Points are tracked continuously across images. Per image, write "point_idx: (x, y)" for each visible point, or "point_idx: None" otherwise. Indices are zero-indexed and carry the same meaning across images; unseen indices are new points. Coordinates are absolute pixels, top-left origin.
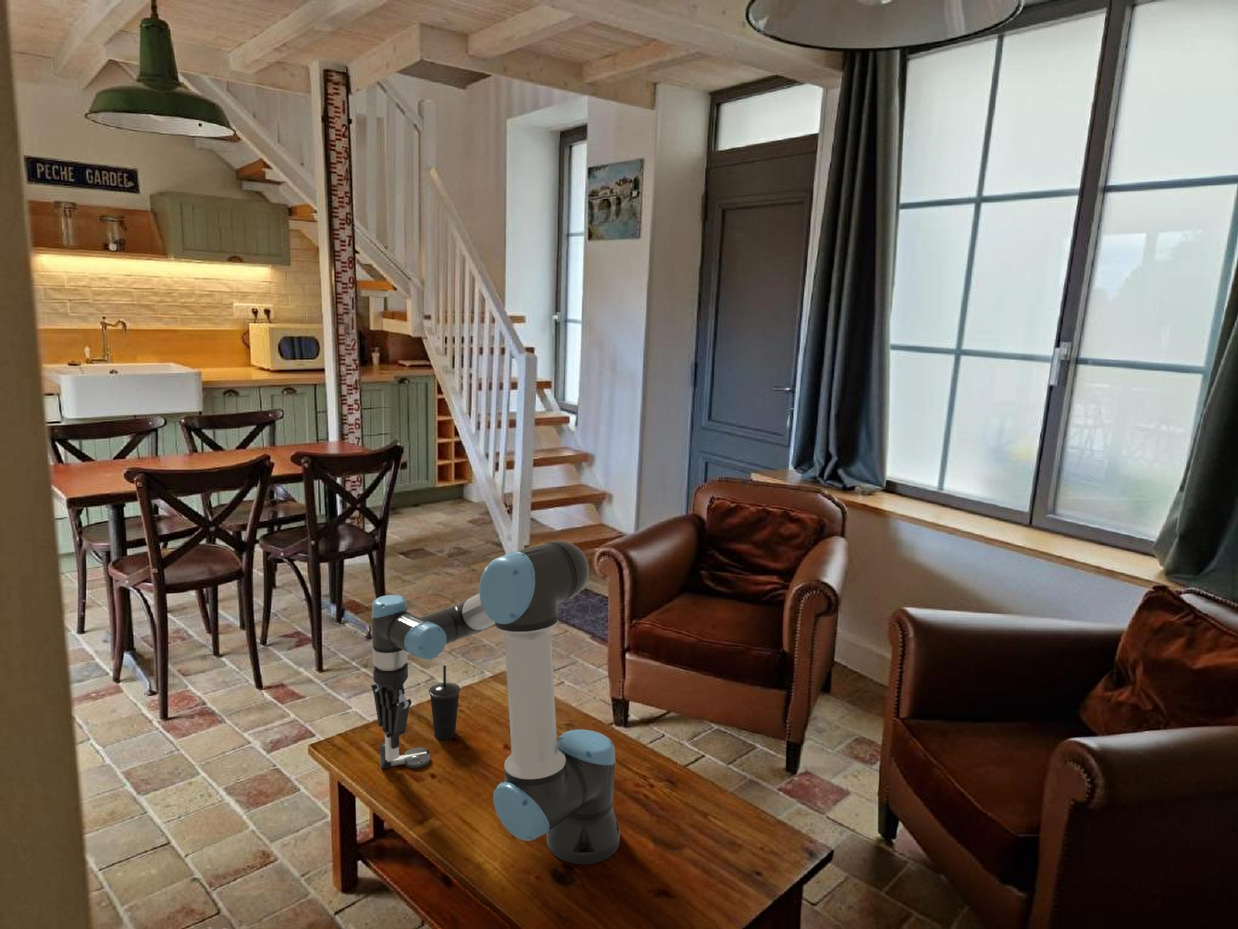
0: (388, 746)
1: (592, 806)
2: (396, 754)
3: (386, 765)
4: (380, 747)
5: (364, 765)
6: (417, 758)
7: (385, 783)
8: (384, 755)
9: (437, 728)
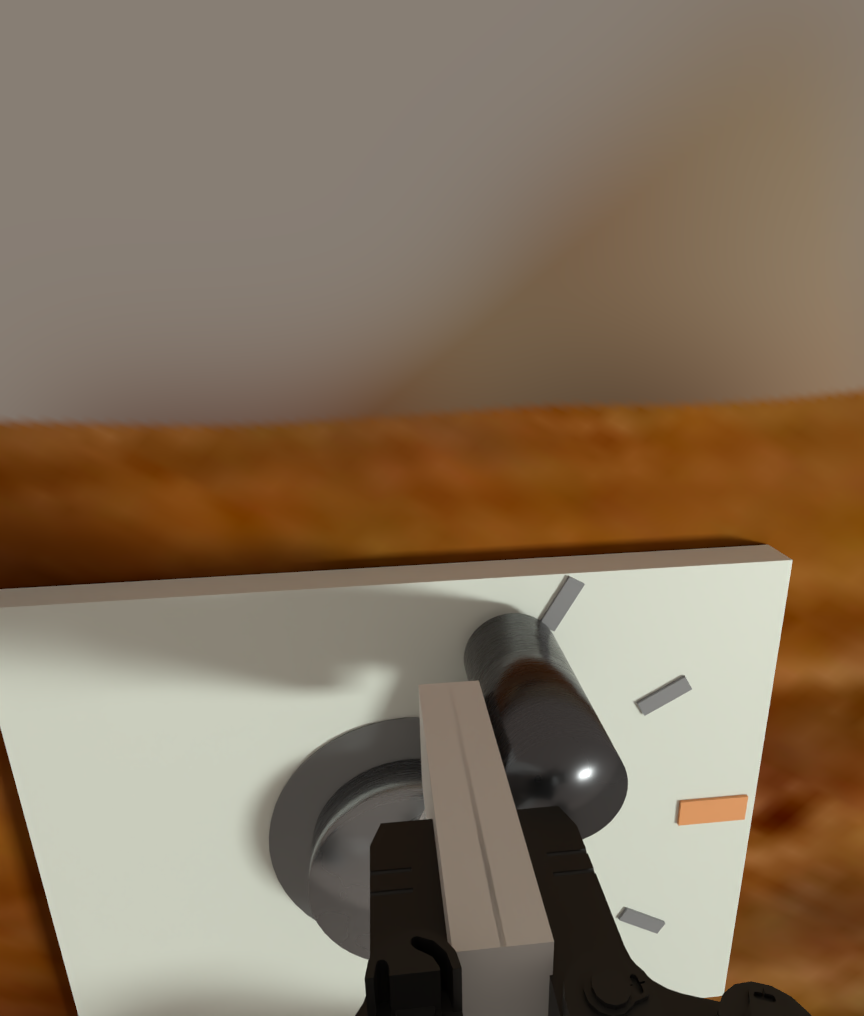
0: (435, 812)
1: None
2: (425, 788)
3: (473, 653)
4: (573, 732)
5: (694, 546)
6: (361, 870)
7: (368, 554)
8: (502, 700)
9: None
